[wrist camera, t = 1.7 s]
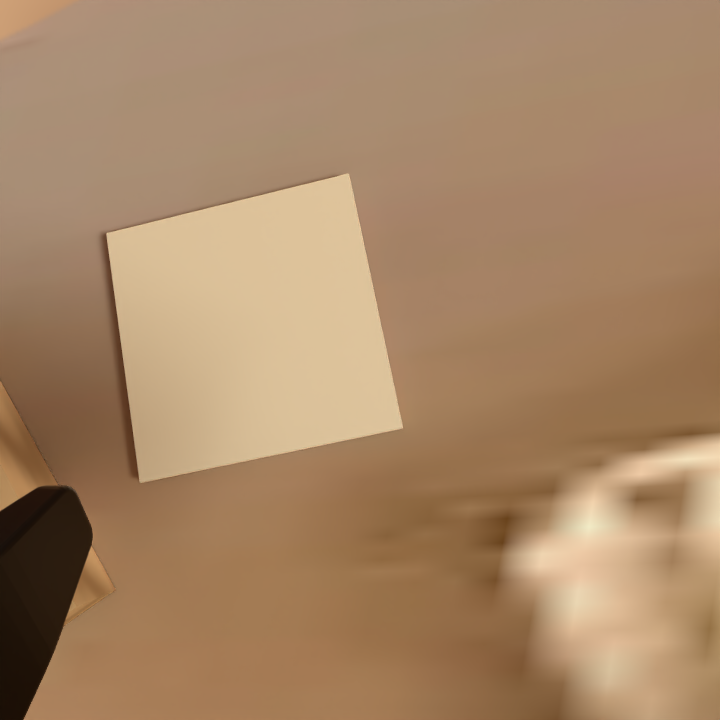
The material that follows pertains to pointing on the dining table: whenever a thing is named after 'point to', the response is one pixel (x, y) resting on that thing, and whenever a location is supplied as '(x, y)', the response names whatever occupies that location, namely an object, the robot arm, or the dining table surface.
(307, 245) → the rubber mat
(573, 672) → the dining table surface
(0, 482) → the plane body
